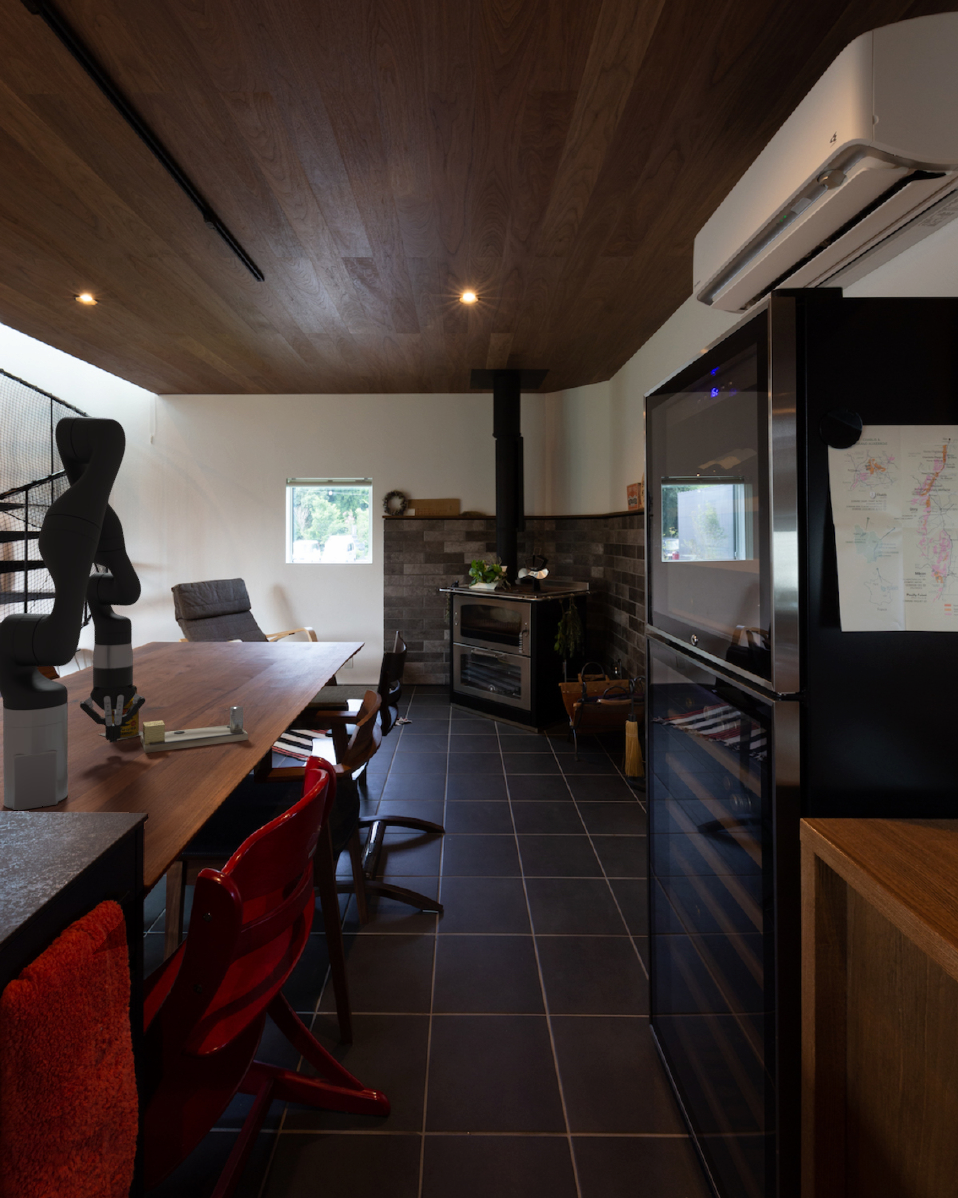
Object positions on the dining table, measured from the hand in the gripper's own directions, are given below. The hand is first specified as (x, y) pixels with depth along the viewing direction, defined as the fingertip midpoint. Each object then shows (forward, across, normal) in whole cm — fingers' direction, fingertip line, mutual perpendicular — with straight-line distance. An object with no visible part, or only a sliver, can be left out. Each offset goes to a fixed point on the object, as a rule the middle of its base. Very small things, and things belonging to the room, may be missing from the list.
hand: (113, 741), depth 134 cm
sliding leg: (+1, +8, +1) cm, 8 cm away
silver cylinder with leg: (+1, +26, +2) cm, 26 cm away
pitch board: (+3, +17, +2) cm, 17 cm away
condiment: (+3, +3, +15) cm, 15 cm away
